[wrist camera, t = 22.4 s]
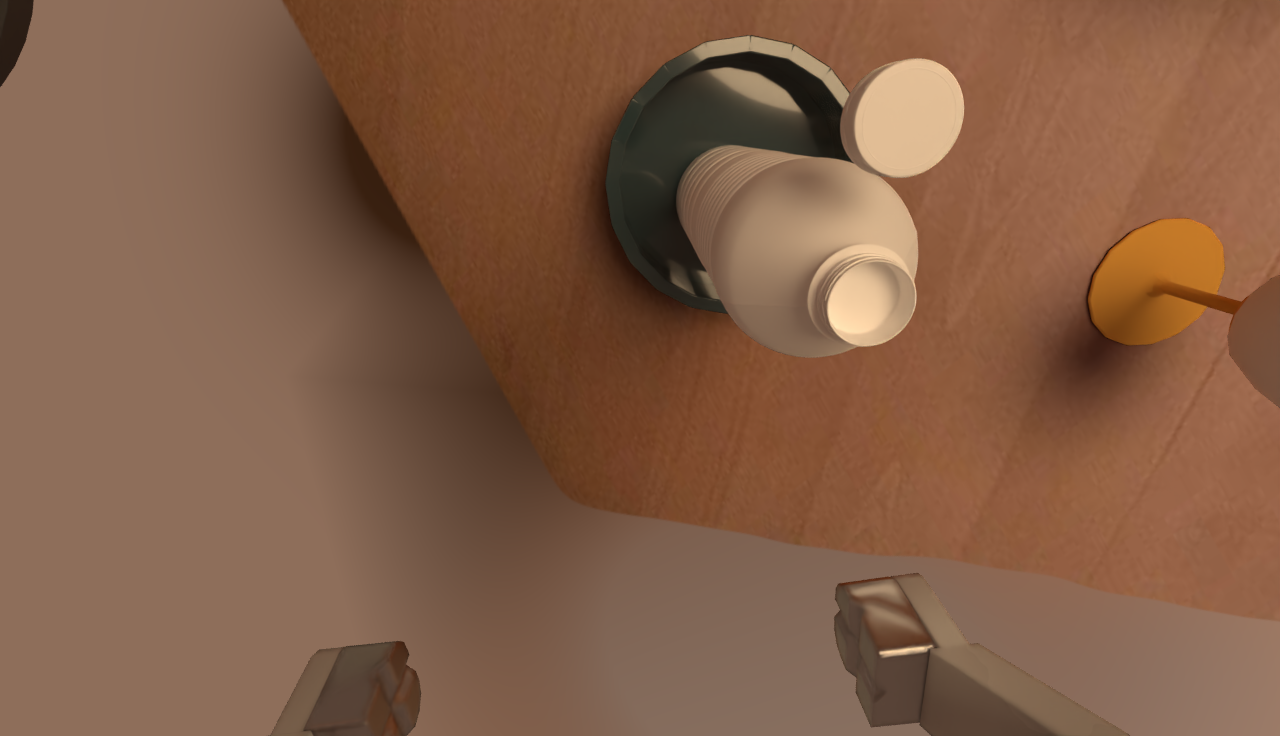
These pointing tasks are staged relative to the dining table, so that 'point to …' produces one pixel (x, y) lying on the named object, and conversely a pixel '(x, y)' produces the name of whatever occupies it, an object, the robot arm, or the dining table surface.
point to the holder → (711, 143)
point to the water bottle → (824, 218)
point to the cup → (1184, 297)
